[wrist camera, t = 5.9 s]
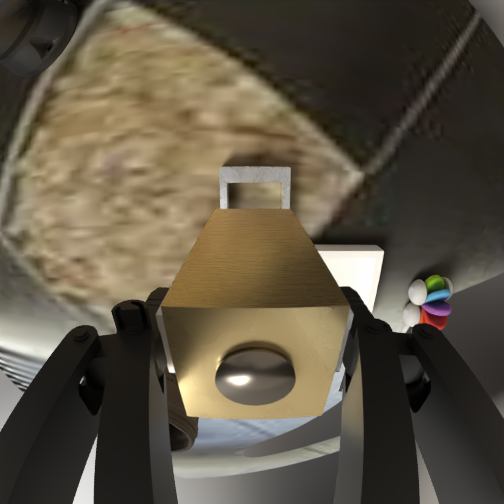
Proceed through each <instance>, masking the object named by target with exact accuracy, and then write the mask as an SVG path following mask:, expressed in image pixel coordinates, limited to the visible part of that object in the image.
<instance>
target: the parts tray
mask: <svg viewBox="0 0 504 504" xmlns="http://www.w3.org/2000/svg"><path fill="white" fill-rule="evenodd" d="M314 246H315V247H316V249H317V251H318V252H319V254H320V255H321V257H322V259H323V260H324V262H325V264H326V265H327V267H328V269H329V270H330V272H331V273H332V275H333V277H334V278H335V280H336V282H337V284H338V285H339V287H341V286H350V287H351V288H353V289H354V290H356V291H357V292H358V294H359V295H360V297H361V299H362V300H363V301H364V304H366V306H367V307H368V309H369V311H370V312H371V314H372V310H373V305H374V301H375V297H376V292H377V287H378V282H379V277H380V272H381V266H382V261H383V255H384V251H383V250H382V249H381V248H380V247H378V246H377V245H316V244H314Z"/></svg>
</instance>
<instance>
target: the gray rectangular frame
mask: <svg viewBox="0 0 504 504" xmlns="http://www.w3.org/2000/svg"><path fill="white" fill-rule="evenodd" d="M290 176H291V167H288V166H222V167H220V209H229V183H281V209H290Z"/></svg>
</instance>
